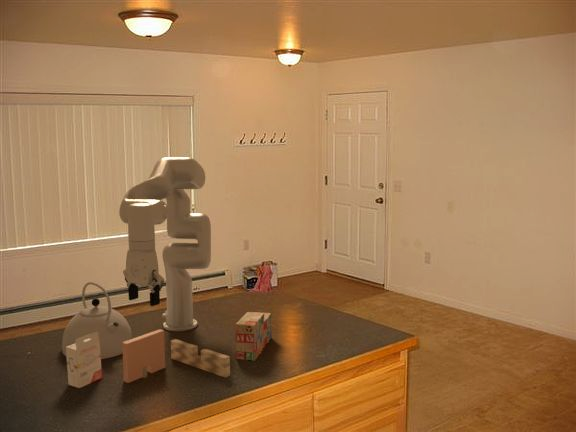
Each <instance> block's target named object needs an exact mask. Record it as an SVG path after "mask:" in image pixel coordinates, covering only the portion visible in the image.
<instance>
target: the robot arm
mask: <svg viewBox="0 0 576 432" xmlns="http://www.w3.org/2000/svg"><path fill="white" fill-rule="evenodd" d="M205 183H206V172H205V169H204V168H203V166H202V165H201V164H200V163H199V162H198V161H197V160H196V159H194V158H192V157H188V156H187V157H186V156H185V157H181V156H179V157H178V156H176V157H175V156H174V157H173V156H171V157H170V156H168V157H162V158H160V159H158V161H157V162H156V163H155V165H154V167H153V169H152V171H151V174H150V175H149V177H148V178H147V179H146V180H144V181H142V182H140V183H138V184H136V185H134V186H132V187H131V188H130V189H128V191H126V193H125V195H124V196H123V198H122V201H121V203H120V206H119V211H118V213H119V218H120V221H122V222H123V224H126V225H127V233H128V234H127V236H128V249H127V253H126V259H125V269H124V270H123V271H122V273H123V276H124V280H125V282H126V287H127V289H128V290H127V292H128V300H129V301H133V300H137V299H139V286H141V287H148V289H149V291H150V292H149V305H150V307H154V306H157V305H160V302H161V299H160V295H161V294H160V292H161V291H162V288H163V287H164V282H165V289H166V290H165V291H166V292H165V294H166V310H165V311H164V313H162V314H161V316H162V318H163V319H164V318H165V321H164V322H163V323H162V325H163V326H162V327H163V328H164V329H165V330H167V331H170V332H186V331H190V330H193V329H195V328H196V327H197V326H198V321H197V320H196V319H195V318H194V305H193V304H194V301H193V279H192V276H191V275H190V273H189V272H188V270H205V269H208V267H210V265H211V258H212V230H211V229H212V226H211V225H212V223H211V220H210V217H209V216H208V215H207V214H205V213H198V212H197V213H196V212H195V213H193V212H191V198H190V196H189V195H188V194H187V192H186V191H185V190H201V189H202V188H203V187H204V186H205ZM164 199H165V201H163V200H164ZM165 222H166V231H167V236H168V237H169V238H171V239H175V240H196V241H197V242H172V243H168V244H166V245H165V246H164V248H163V249H162V253H161V254H162V255H161V257H162V262H163V266H164V272H165V278H164V277H163V276H162V275H161V274H160V273H159V272H160V269H159V261H158V255H157V251H156V234H155V233H156V230H155V226H157V225H161V224H164V223H165Z"/></svg>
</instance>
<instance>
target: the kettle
mask: <svg viewBox="0 0 576 432" xmlns="http://www.w3.org/2000/svg"><path fill="white" fill-rule="evenodd" d="M89 285H93V286H95V287H97V288H99V289H100V290H101V291H102V292H103V293H104V295H105V297H106V301H107V306H104V305H100V303H101V301H100V299H99V298H93V299H92V301H91V305H92V306H90V307H87V304H86V299H85V298H86V297H85V293H86V288H87V287H88V286H89ZM81 300H82V301H81V302H82V306H83V308H84V309H82V310H80V311H79V312H77V313H76V314H75V315H74V316H73V317H72V318H71V319H70V320H69V322H68V323H67V325H66V327H65V329H64V331H63V335H62V342H61V344H62V347H61V348H62V354H63V355H64V356H65V357H66V347H67V346H70V345H72V344H75V343H76V342H75V340H76V339H78V338H81V337H83V336H86V335H88V334H91V333H94V332H96V331H97V332H98V336H99V341H100V355H101V360H103V359H105V360H106V359H109V358H113V357H116V356H120V355H123V349H122V342H125V341H128V340H130V339H133V335H132V329H131V327H130V324H129V322H128V321H127V319H126V317H124V316H123V315H122V313H120V312H118V311H117V310H116V309H113V308H112V303H111V298H110V296H109V294H108V292H107V289H105V288H104V287H103V286H102V285H100V284H98V283H96V282H93V281H88V282H86V283H85V284H84V286H83V288H82V294H81ZM86 339H88V338H86ZM90 339H91V338H90Z"/></svg>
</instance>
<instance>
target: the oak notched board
mask: <svg viewBox="0 0 576 432" xmlns="http://www.w3.org/2000/svg"><path fill="white" fill-rule="evenodd" d="M170 355H171V356H170V359H172V360H174V361H177V362H181V363H183V364H186V365H189V366H191V367H194V368H197V369H200V370H203V371H206V372H208V373H212V374H214V375H217V376H219V377H223V378H225V379H226V378H228V377H229V376H231V362H230V361H231V357H230V355H226V354H223V353H220V352H218V351H214V350H211V349H208V348H203V349H201V350H200V355H199V349H198V345H196V344H192V343H189V342H186V341H183V340H180V339H177V338H175V339H172V340H170Z"/></svg>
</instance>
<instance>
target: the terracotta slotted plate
mask: <svg viewBox="0 0 576 432" xmlns="http://www.w3.org/2000/svg"><path fill="white" fill-rule="evenodd" d="M122 349H123V353H122V363H123V364H122V366H123V368H122V369H123V371H122V372H123V381H124V382H125V383H127V384H129V383H132V382H134V381H136V380H139V379H142V378H143V377H144V374H143V368H145V367H146V368H147V369H146V370H147V371H146V372H148V373H150V374H153V373H156V372H158V371H161V370H162V369H165V368H166V354H165V353H166V350H165V331H164V330H163V329H156V330H154V331H150V332H148V333H145V334H142V335H140V336H139V335H138V336H137V337H132V339H130V340H128V341H125V342H122Z"/></svg>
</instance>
